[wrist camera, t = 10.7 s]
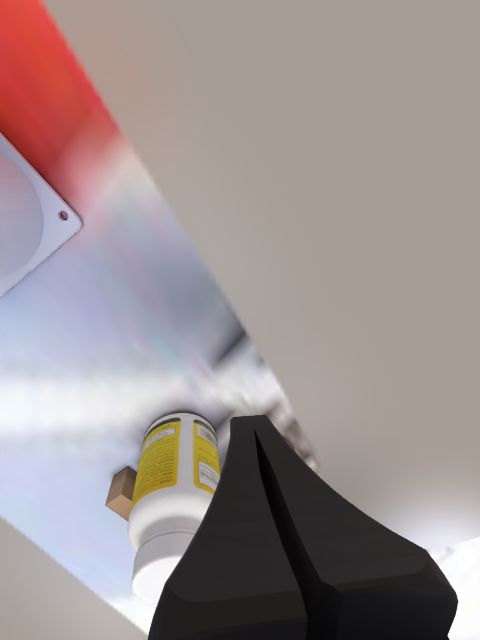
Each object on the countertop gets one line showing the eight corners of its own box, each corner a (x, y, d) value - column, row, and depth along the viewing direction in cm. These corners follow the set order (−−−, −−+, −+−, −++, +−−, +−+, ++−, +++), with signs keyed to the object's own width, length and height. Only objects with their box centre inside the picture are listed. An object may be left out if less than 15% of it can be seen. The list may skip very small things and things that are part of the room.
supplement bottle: (137, 463, 25) (106, 617, 16) (151, 404, 23) (124, 541, 14) (207, 471, 26) (213, 619, 17) (225, 416, 25) (243, 549, 16)
